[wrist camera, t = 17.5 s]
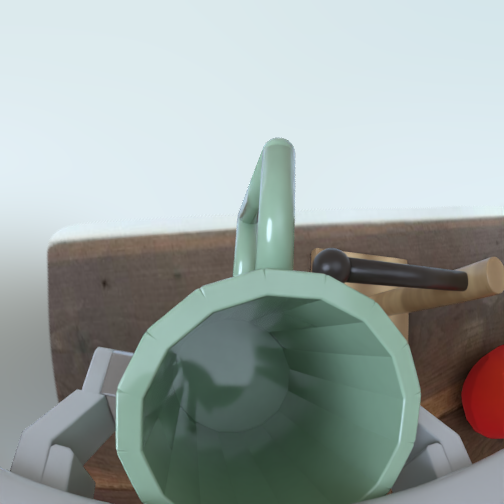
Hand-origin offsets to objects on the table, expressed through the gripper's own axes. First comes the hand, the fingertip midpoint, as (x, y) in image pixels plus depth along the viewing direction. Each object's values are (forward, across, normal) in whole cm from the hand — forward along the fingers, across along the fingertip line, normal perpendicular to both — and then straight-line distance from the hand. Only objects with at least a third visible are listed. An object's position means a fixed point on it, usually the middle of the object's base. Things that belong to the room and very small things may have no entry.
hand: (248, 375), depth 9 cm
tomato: (+8, -31, +16) cm, 36 cm away
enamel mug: (+4, 0, +2) cm, 5 cm away
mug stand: (+15, -10, +9) cm, 20 cm away
